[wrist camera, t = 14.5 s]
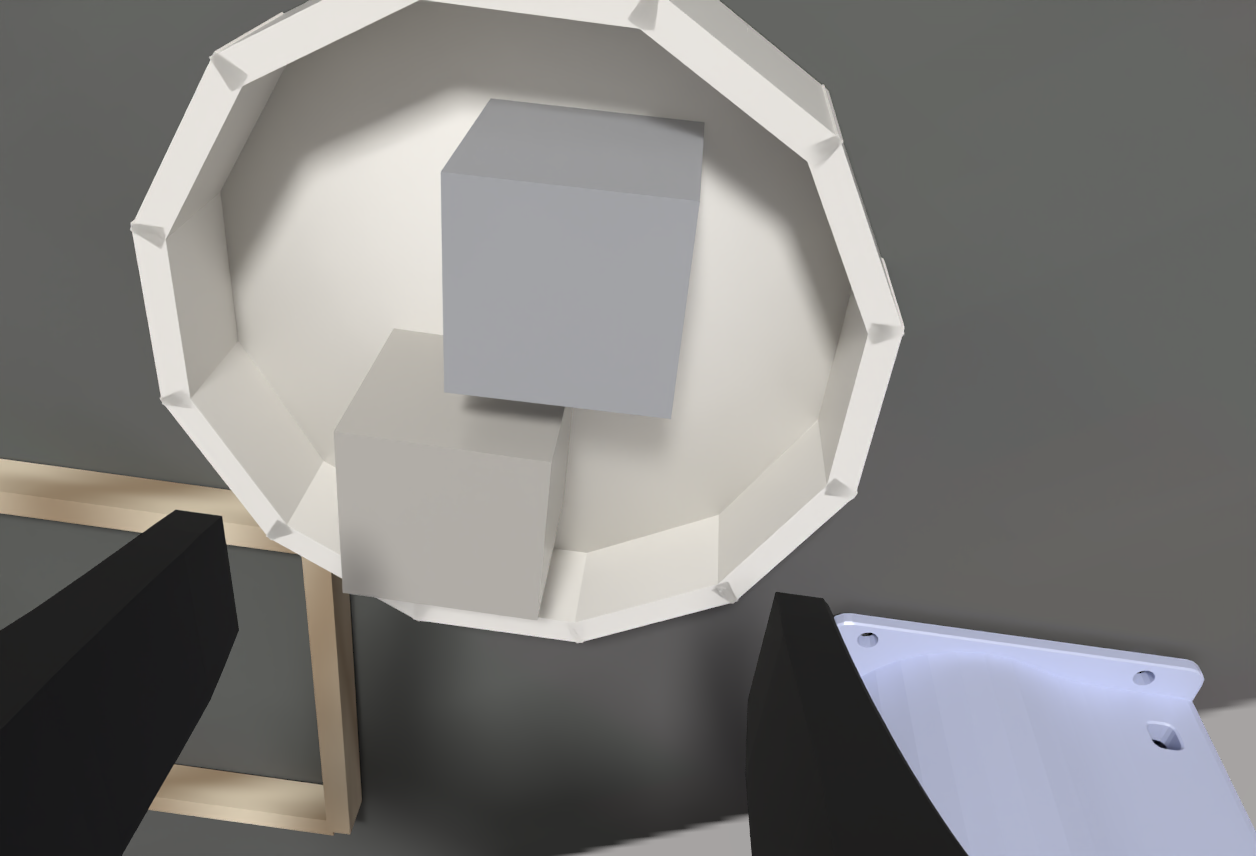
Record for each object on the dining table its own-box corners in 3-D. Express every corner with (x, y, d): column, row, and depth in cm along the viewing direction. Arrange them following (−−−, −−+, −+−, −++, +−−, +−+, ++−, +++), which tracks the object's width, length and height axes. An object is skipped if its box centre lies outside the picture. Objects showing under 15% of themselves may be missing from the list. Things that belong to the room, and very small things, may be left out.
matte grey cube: (704, 121, 19) (700, 201, 16) (679, 314, 21) (670, 418, 18) (490, 97, 19) (440, 171, 16) (488, 291, 21) (444, 392, 18)
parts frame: (344, 506, 25) (328, 536, 24) (362, 804, 32) (350, 838, 31) (-131, 440, 26) (-166, 468, 25) (-15, 751, 32) (-39, 783, 31)
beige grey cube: (578, 354, 22) (551, 462, 19) (563, 500, 24) (537, 620, 21) (393, 328, 22) (333, 431, 19) (396, 477, 24) (342, 593, 21)
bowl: (957, -8, 18) (993, 31, 15) (796, 585, 26) (804, 674, 23) (164, -113, 18) (73, -91, 16) (245, 509, 26) (193, 590, 23)
